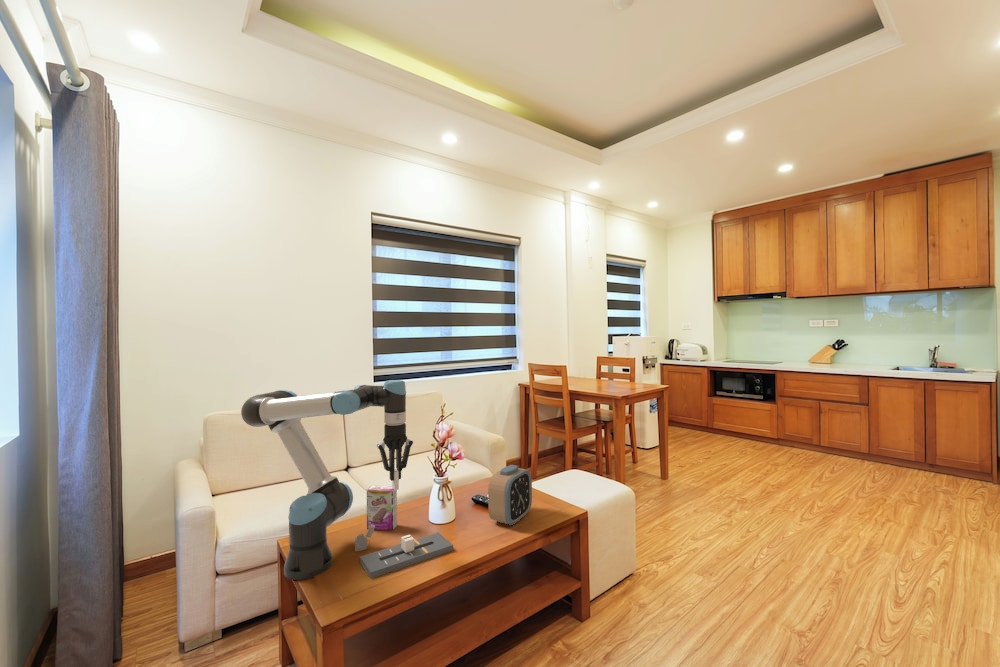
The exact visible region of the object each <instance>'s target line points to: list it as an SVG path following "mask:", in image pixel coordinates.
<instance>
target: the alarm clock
mask: <svg viewBox="0 0 1000 667" xmlns="http://www.w3.org/2000/svg"><path fill="white" fill-rule="evenodd" d="M489 479H490V480H489V483H488V488H487V489H488V492H487V494H488V500H487V504H488V515H489V518H490V519H491V520H493V521H496V523H499V522H500V523H499V524H502V523H505V524H504V525H506V524H509V525H508V526H510V525H513V524H515V523H516V522H517V521H518V522H519V521H521V520H522V519H523V518H525V516H526V515H527V514H528V513H529V512H530V510H531V507H532V502H533V500H532V499H533V490H532V488H533V481H532V480H533V478H532V474H531V471H530V470H528V469H525V468H519V465H515V464H509V465H507V466H505V467H503V468H501V469H500V470H499V471H497V472H496V473H494V474H493V475H492V476H491V478H489ZM522 517H523V518H522ZM521 518H522V519H521ZM520 519H521V520H520ZM518 522H517V523H518ZM517 523H516V524H517ZM516 524H515V525H516ZM513 526H514V525H513Z"/></svg>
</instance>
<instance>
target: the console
mask: <svg viewBox="0 0 1000 667" xmlns="http://www.w3.org/2000/svg"><path fill="white" fill-rule="evenodd" d="M453 551H454V544H452V542H451V541H449V540H448V539H447V538H446V537H444V536H443V535H442V534H441V533H440V532H436V533H432V534H429V535H426V536H422V537H419V538H417V539H415V538H414V551H412V552H409V553H405V552H404V551H403V550H402V549H401V543H400V544H396V545H393V546H390V547H387V548H383V549H380V550H376V551H373V552H370V553H367V554H364V555H361V556H359V563H360V565H361V566H362V567H363V569H364V570H365V572H366V573H367V575H368V577H369V578H370V579H374V578H377V577H379V576H382V575H386V574H388V573H390V572H391V573H392V572H394V571H397V570H401V569H403V568H406V567H409V566H411V565H414V564H415V565H416V564H418V563H421V562H424V561H426V560H430V559H431V558H436V557H438V556H440V555H444V554H447V553H450V552H453Z"/></svg>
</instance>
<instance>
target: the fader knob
mask: <svg viewBox="0 0 1000 667" xmlns="http://www.w3.org/2000/svg"><path fill="white" fill-rule="evenodd" d="M400 539H401V540H400V541H401V543H400V544H401V549H402V550H403V551H404V552H405V553H409V552H412V551H414V539H415V538H414V537H413V536H412V535H411V534H406V535H404V536H401V538H400Z"/></svg>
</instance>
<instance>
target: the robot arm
mask: <svg viewBox="0 0 1000 667" xmlns="http://www.w3.org/2000/svg"><path fill="white" fill-rule="evenodd" d="M406 390H407V389H406V382H405V381H404V380H401V379H389V380H386V381H384V383H383V385H369V384H362V385H359V384H358V385H355V386H354V388H352V389H348V390H340V391H333V392H332V391H331V392H326V393H325V392H324V393H314V394H307V395H300V396H299V395H298V394H297V393H295V392H293V391H291V390H286V389H285V390H284V389H283V390H281V389H279V390H275V391H272V392H271V391H270V392H266V393H261V394H256V395H253V396H251V397H249V398H248V399H247V400H245V402H244V403H243V405H242V407H241V410H240V412H241V413H240V414H241V419H242V420H243V422H244V423H246V424H247V425H249V427H255V428H260V427H265V426H268V428H269V430H270V432H271V433H274V434H277V435H278V437H279V438H280V440H281V442H282V444H283V445H284V448H285V449H286V451H287V453H288V455H289V457H290V458H291V460H292V462H293V463H294V465H295V467H296V469H297V471H298V472H299V474H300V476H301V478H302V479H303V482H304V483H305V485H306V487H307V492H306V494H305V495H301V496H299V497H297V498H296V499H295V500H293V501H292V502H291V504H290V506H289V508H288V528H289V529H288V534H289V535H288V538H289V547H288V548H289V549H288V553H287V556H286V559H285V561H284V565H283V575H284V577H285V578H286V579H289V580H291V581H304V580H310V579H312V578H313V579H314V578H315V577H316V576H319V575H321V574H322V573H325V572H326V571H327V570H328V569H330V568H331V567H332V565H333V554H332V551H331V549H330V546H329V543H328V537H327V533H328V532H327V531H328V529H327V528H328V527H329V526H330V525H332V524H333V523H335V522H336V521H337V520H339V519H340V518H342V517H343V516H344V515H346V513H347V512H348V511H349V510H350V509H351V507H352V505H353V502H354V495H353V491H352V490H353V489H351V487H350V485H349V484H347V483H344V482H340V480H339V478H338V477H337V476H336V475H335V476H334V475H331V474H330V472H329V470H328V468H327V467H326V465H325V463H324V461H323V460H322V458H321V456H320V454H319V452H318V450H317V448H316V447H315V445H314V443H313V442H312V440H311V438H310V437H309V434H308V432H307V431H306V429H305V428H304V426H303V423H302V421H301V420H302V419H303V418H304V419H305V418H314V417H320V416H321V417H322V416H330V415H341V416H344V415H350V414H353V413H355V412H358V411H361V410H364V409H366V408H371V407H382V408H383V409H384V420H383V421H384V430H383V432H384V434H383V435H384V437H383V440H382V442H380V443H378V444H376V448H377V449H378V450H379V453H380V457H381V460H382V464H383V468H384V470H386V472H389V480H390V481H391V487H392V488H393V489H394V490H399V486H400V484H399V481H400V480H401V478H402V471H403V469H406V467H407V466H408V461H409V456H410V451H411V447H413V444H414V441H413V440H412V439H409V438H408V435H407V432H406V431H407V424H406V420H407V418H406V417H407V414H406V412H407V411H406V410H407V409H406V406H407V405H406V404H407V402H406V401H407V399H406V398H407V391H406ZM403 446H404V450H403ZM385 448H388V457H387V453H386V449H385ZM402 452H403V454H402ZM395 468H396V469H395Z"/></svg>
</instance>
